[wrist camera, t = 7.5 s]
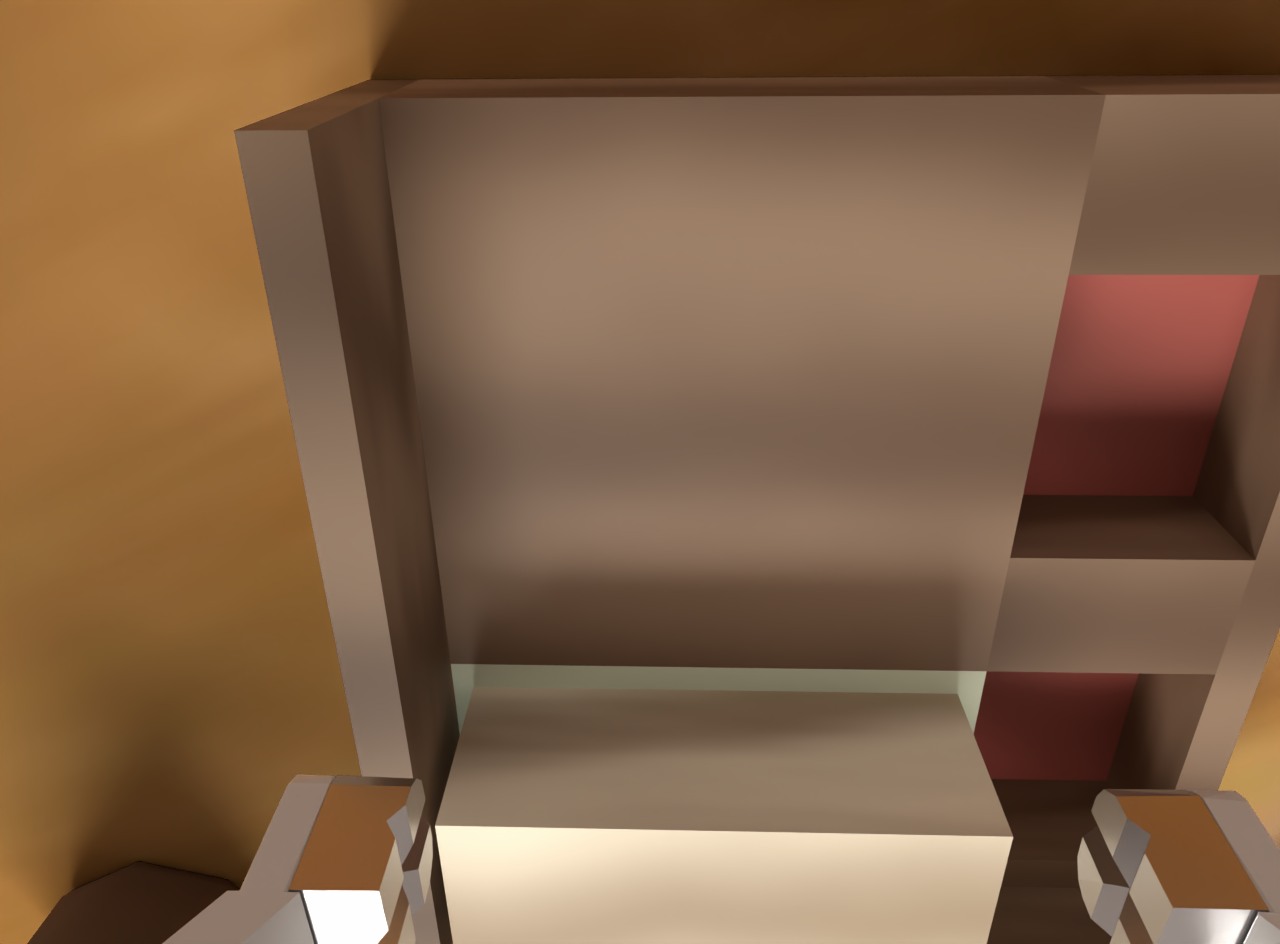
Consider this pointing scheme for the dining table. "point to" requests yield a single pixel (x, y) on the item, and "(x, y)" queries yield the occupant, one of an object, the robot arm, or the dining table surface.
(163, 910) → the beer bottle
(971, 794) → the cream rectangular block
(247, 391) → the dining table surface
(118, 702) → the dining table surface
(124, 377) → the dining table surface
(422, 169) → the brown compartment tray
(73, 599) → the dining table surface
